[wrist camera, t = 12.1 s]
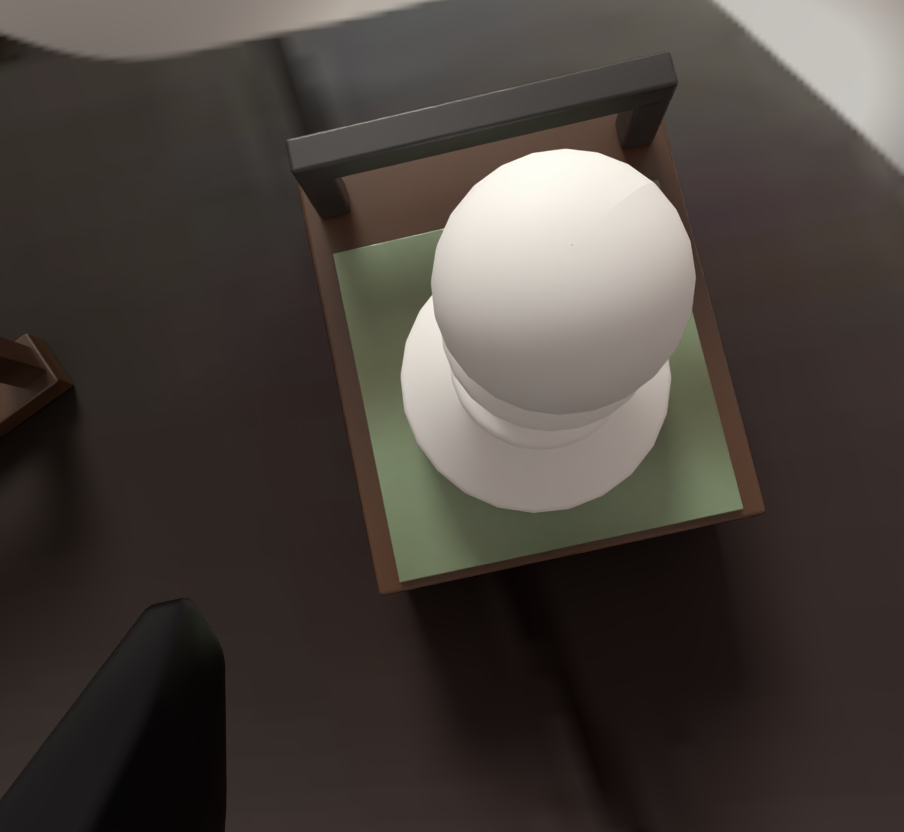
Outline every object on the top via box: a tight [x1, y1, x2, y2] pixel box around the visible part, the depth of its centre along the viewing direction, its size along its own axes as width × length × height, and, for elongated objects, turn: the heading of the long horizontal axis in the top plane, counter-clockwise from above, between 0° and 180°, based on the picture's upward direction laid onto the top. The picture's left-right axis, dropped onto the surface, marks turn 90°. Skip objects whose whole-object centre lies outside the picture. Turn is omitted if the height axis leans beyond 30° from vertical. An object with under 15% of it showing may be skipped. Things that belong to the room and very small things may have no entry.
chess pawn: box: [401, 149, 696, 513], centre depth 12 cm, size 5×5×9 cm
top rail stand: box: [286, 51, 765, 595], centre depth 17 cm, size 9×8×6 cm
